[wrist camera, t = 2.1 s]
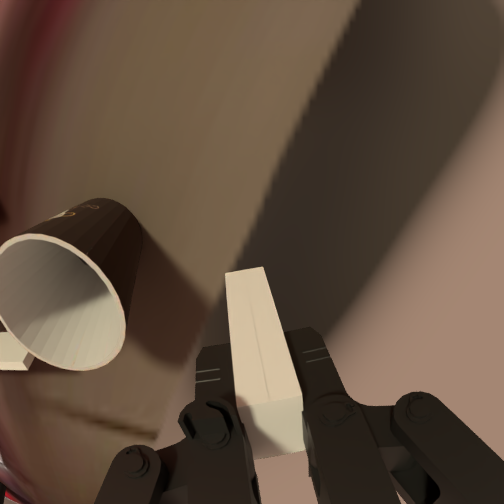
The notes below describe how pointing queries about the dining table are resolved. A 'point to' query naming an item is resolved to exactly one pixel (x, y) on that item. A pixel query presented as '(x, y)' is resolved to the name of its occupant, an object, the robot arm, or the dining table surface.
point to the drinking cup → (2, 493)
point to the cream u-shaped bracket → (13, 354)
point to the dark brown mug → (71, 284)
